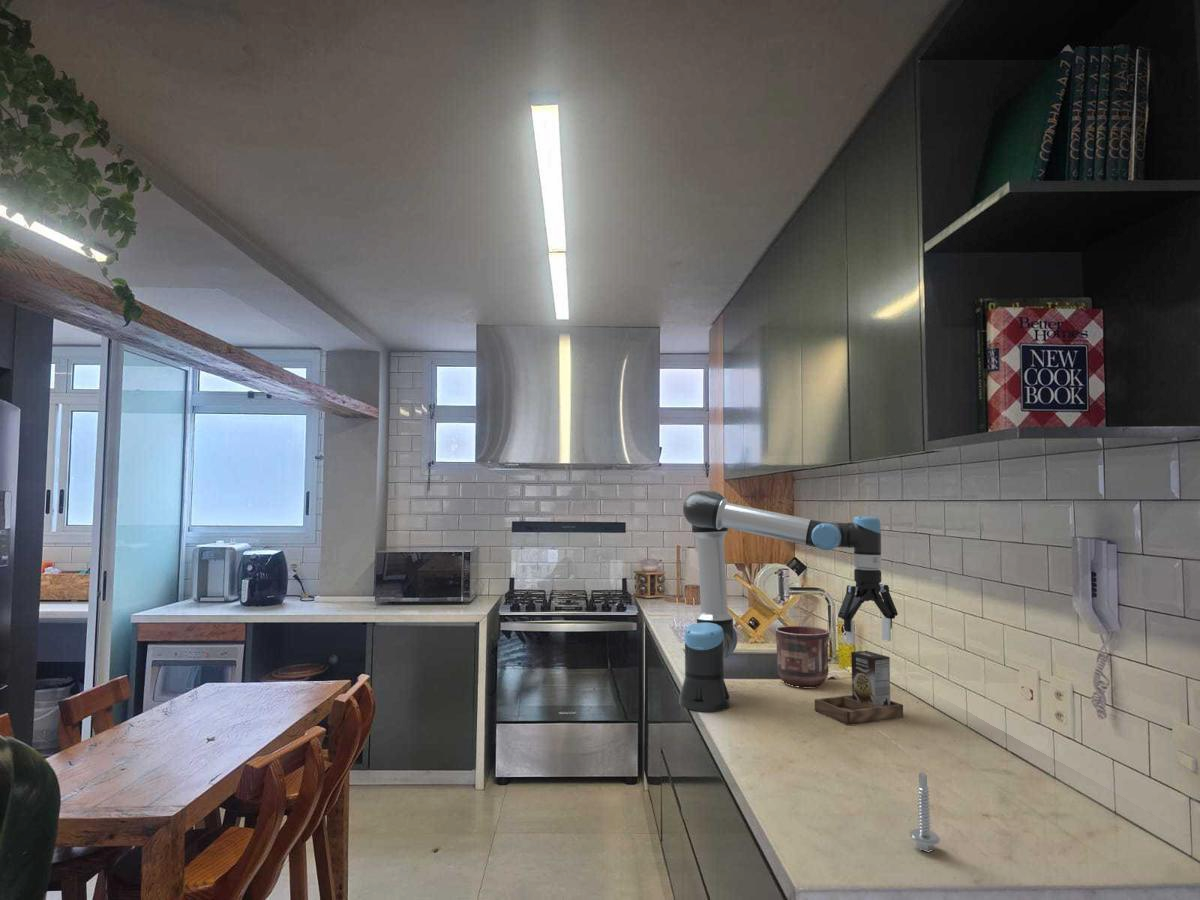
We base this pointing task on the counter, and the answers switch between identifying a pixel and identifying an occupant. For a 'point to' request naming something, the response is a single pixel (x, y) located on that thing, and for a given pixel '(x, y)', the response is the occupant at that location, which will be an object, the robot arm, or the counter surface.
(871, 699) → the coffee box
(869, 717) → the walnut crate
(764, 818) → the counter surface
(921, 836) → the screw
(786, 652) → the pottery
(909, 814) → the counter surface
